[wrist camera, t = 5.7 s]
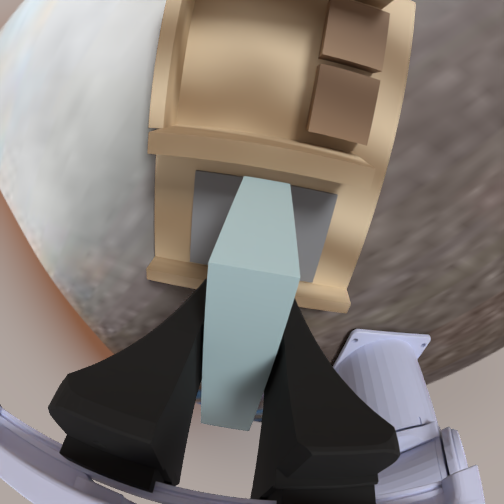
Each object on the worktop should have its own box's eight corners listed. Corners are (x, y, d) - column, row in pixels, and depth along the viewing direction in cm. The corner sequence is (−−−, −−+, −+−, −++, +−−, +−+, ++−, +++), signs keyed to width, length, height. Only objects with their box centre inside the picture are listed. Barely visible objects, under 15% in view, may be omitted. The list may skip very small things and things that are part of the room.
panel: (260, 319, 16) (249, 431, 10) (225, 314, 16) (200, 423, 10) (290, 183, 12) (300, 278, 6) (244, 175, 12) (208, 262, 6)
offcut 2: (359, 141, 14) (366, 145, 13) (305, 128, 14) (308, 131, 13) (371, 81, 12) (380, 80, 11) (316, 66, 12) (320, 63, 11)
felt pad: (312, 280, 19) (312, 282, 18) (190, 260, 19) (189, 261, 18) (337, 194, 16) (337, 195, 15) (196, 169, 16) (195, 170, 15)
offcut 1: (372, 73, 12) (382, 71, 11) (318, 58, 12) (322, 54, 11) (380, 19, 10) (390, 13, 9) (327, 3, 10) (331, -5, 9)
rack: (341, 292, 20) (351, 334, 16) (158, 261, 20) (135, 297, 16) (411, 5, 10) (444, -13, 6) (188, -35, 10) (164, -63, 6)
